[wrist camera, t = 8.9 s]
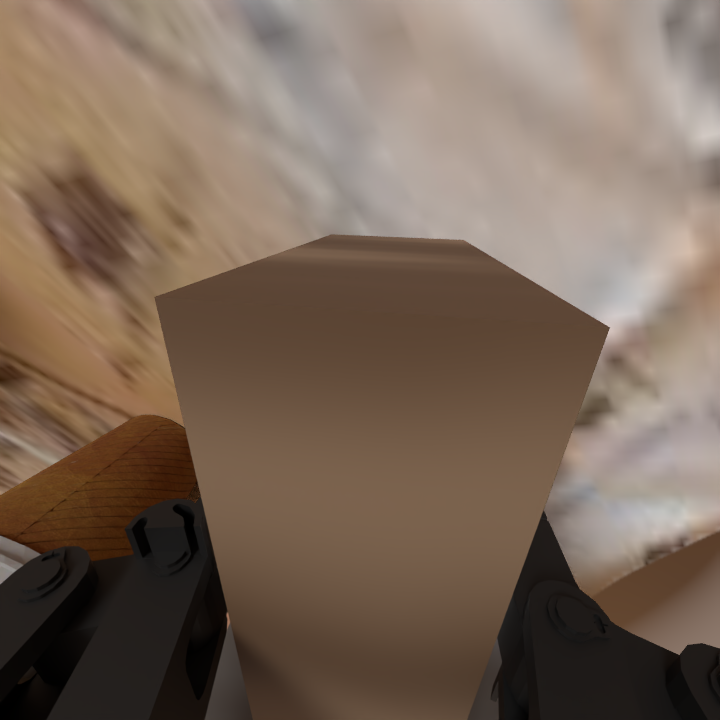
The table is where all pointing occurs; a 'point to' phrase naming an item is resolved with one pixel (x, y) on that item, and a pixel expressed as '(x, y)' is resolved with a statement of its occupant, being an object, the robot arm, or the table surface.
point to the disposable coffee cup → (96, 493)
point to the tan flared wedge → (372, 467)
